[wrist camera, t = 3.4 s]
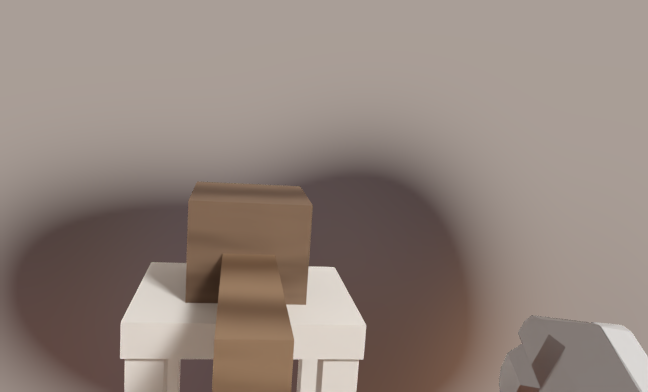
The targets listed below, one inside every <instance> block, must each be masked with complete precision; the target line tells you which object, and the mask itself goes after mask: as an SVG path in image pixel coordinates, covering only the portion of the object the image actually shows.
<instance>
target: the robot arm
mask: <svg viewBox="0 0 648 392" xmlns="http://www.w3.org/2000/svg"><path fill="white" fill-rule="evenodd" d="M518 334H519V337H520V339H521V342H522V344H521V345H519V346H518V347H516V348H514V349H513V350H511V351H510V352H508V353H507V355H506V358H505V360H504V362H503V364H502V366H501V370H500V379H499V389H500V392H648V356H647V355H646V353H645V352H644V350H643V349H642V347H641V346H640V344H639V343H638V341H637V340H636V338H635V337H634V335H633V334H632V332H631V331H630V330H628V329H627V328H625V327H624V326H623V325H616V324H606V323H597V322H591V323H589V322H583V321H575V320H567V319H558V318H550V317H541V316H533V315H532V316H530V317H529V318H528V319H527V320H526V321H524V323H523V325H522V327H521V329H520V330H519V332H518Z"/></svg>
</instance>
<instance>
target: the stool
mask: <svg viewBox="0 0 648 392" xmlns="http://www.w3.org/2000/svg"><path fill="white" fill-rule="evenodd" d="M186 265H187V263H159V262H158V263H157V262H151V264H150V266H149V268H148V270H147V272H146V274H145V276H144V278H143V280H142V282H141V284H140V286H139V288H138V290H137V292H136V294H135V296H134V297H133V300H132V301H131V303H130V305H129V307H128V309H127V311H126V313H125V315H124V317H123V319H122V321H121V336H120V339H121V340H120V342H121V343H120V359H125V385H124V392H179V387H180V383H179V382H180V359H213V358H214V337H215V327H216V317H217V306H218V303H185V296H186ZM286 306H287V310H288V314H289V319H290V323H291V328H292V332H293V337H294V352H293V359H299V365H298V379H297V392H356V389H357V388H356V387H357V377H358V364H359V359H363V357H364V346H365V334H366V324H365V322H364V320H363V318H362V317H361V315H360V313H359V311H358V309H357V307H356V306H355V304H354V302H353V300H352V298H351V296H350V295H349V293H348V291H347V289H346V287H345V286H344V284H343V282H342V280H341V278H340V276H339V275H338V273H337V271H336V269H335V267H309V268H308V283H307V297H306V305H287V304H286Z"/></svg>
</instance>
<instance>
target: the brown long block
mask: <svg viewBox="0 0 648 392" xmlns="http://www.w3.org/2000/svg"><path fill="white" fill-rule="evenodd" d="M312 209H313V205H312V204H311V202H310V201H309V199H308V198H307V196H306V195H305V193H304V191H303V190H302V188H301V187H300V186H278V185H258V184H236V183H215V182H197V183H196V185H195V188H194V190H193V192H192V194H191V196H190V198H189V203H188V236H187V265H186V296H185V303H218V306H217V317H216V327H215V337H214V358H213V383H212V392H291V383H292V382H291V381H292V368H293V352H294V337H293V332H292V328H291V323H290V319H289V314H288V310H287V306H286V304H287V305H306V297H307V283H308V268H309V253H310V238H311V223H312Z"/></svg>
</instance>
